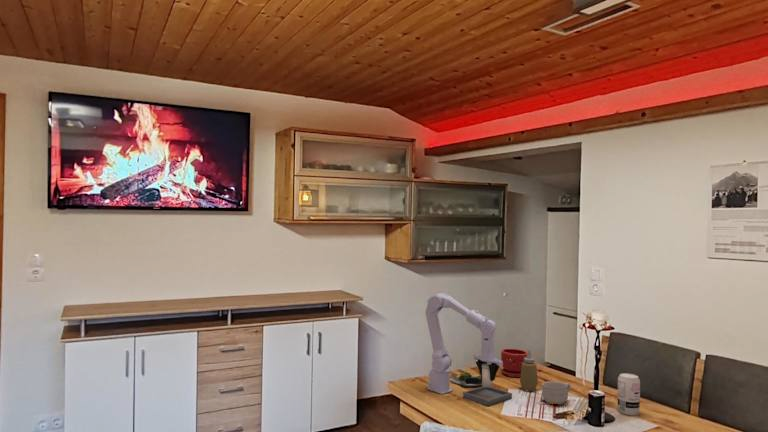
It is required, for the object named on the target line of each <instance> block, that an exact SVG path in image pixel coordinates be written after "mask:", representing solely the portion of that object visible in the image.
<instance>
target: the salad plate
mask: <svg viewBox="0 0 768 432" xmlns="http://www.w3.org/2000/svg"><path fill="white" fill-rule="evenodd" d="M450 377H451V378H450V381H451V382H452V383H453V384H456V385H458V386H461V387H464V388H470V389H472V388H473V389H476V388H479V387H483V386H482V378H481V375H476V374H472V373H470V372H469V373H468V372H466V371H465V372H463V373H461V372H458V375H455V374H454V373H451V374H450Z"/></svg>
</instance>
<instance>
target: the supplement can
mask: <svg viewBox="0 0 768 432" xmlns="http://www.w3.org/2000/svg"><path fill="white" fill-rule="evenodd" d="M640 400H641V380H640V378H639V376H638V375H636V374H633V373H624V372H623V373H619V376H618V377H617V411H618V412H619V413H621V414H623V415H626V416H630V417H631V416H632V417H633V416H637V415H639V414H640V413H641V410H640V407H641V401H640Z"/></svg>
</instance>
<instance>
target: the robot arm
mask: <svg viewBox="0 0 768 432" xmlns="http://www.w3.org/2000/svg"><path fill="white" fill-rule="evenodd" d="M446 308H447V309H449V308H450V309H452V310H453V311H455V312H457V313H458V314H460V315H462V316H463V317H465V319H466V321H467V322H468V323H469V324H471V325H472V326H473V327H476V328H478V329H479V331H480V332H481V343H480V344H481V352H480V353H481V354H477V353H476V354H474V355H473V360H475V364H476V366H477V369H478V371H479V376H481V378H482V364H483V363H490V365H488V366H489V370H490V381H493V382H494V381H495V379H496V376H497V372H498V371H499V369H500V367H501V366H502V367H503V361H501V360H500V359H499V358H497V357H495V352H496V351H495V350H496V349H495V346H496V345H495V344H496V343H495V342H496V341H495V339H496V338H495V337H496V335H495V333H496V332H495V331H496V329H497V323H496V322H495V321H494V319H491V318H488V317H487V316H484V315H482V314H481V313H479V310H477V309H476V310H475V309H471V310H470V309H468V308H467V307H466V306H465V305H463V304H461V303H460V302H458V301H457V300H456V299H454V298H453V297H452V296H451V295H449V294H447V293H445V292H439V293H437V294H432V295H431V296H430V297H429V298H428V299H427V304H426V309H425V313H424V314H425V318H426V322H427V327H428V331H429V336H430V342H431V345H432V355H431V358H432V359H431V360H432V362H431V368H432V369H431V370H429V373H428V387H427V388H426V389H427V390H429V391H432V392H435V393H438V394H441V395H443V394H446V393H451V392H454V389H453V388H451V387H450V381H451V378H450V377H451V374H450V367H451V365H452V357H451V356H450V355H449V352H448V350H447V349H446V347H445V343H444V339H443V334H442V329H441V325H440V320H439V314H440V312H441V310H442V309H446Z"/></svg>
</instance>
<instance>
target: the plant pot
mask: <svg viewBox="0 0 768 432" xmlns="http://www.w3.org/2000/svg"><path fill="white" fill-rule="evenodd" d="M527 353H528V351H526V350H523V349H518V348H517V349H516V348H504V349H501V353H500V359H501V361H503V366H502V369H501V372H502V373H503V374H504V375H505V376H507V377H512V378H513V377H514V378H519V377H521V368H522V363H523V362H524V358H525V357H527Z"/></svg>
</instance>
